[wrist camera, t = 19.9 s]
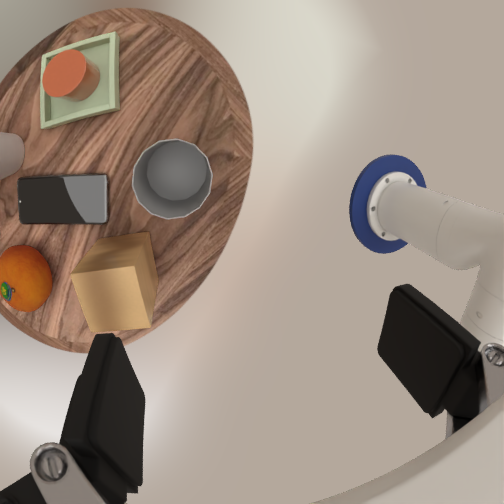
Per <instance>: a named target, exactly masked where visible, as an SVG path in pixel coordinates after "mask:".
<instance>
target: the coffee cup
mask: <svg viewBox="0 0 504 504" xmlns="http://www.w3.org/2000/svg"><path fill="white" fill-rule="evenodd" d="M24 155H25V148H24V143H23V141H22V139H21V138H20V137H19V136H18V135H16V134H12V133H3V132H0V180H1V179H3V178H5V177H7V176H10V175H12V174H14V173H16V172H17V171H18V170H19V168H20V167H21V165H22V163H23V160H24Z"/></svg>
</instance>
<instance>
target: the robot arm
mask: <svg viewBox="0 0 504 504" xmlns="http://www.w3.org/2000/svg"><path fill="white" fill-rule="evenodd" d="M367 218H368V223H369V225H370V227H371V229H372V230H373V232H374V233H375V234H376V235H377V236H379V237H380V238H382V239H385V240H389V241H393V240H397V239H402V240H404V241H405V242H407V243H409V244H411V245H413V246H414V247H416V248H418V249H419V250H421V251H423V252H425V253H426V254H428V255H429V256H431V257H433V258H435V259H436V260H438V261H440V262H441V263H443V264H445V265H446V266H448V267H450V268H452V269H456V270H467V269H470V268H473V267H476V266H479V265H480V270H479V273H478V276H477V280H476V283H475V286H474V289H473V291H472V294H471V297H470V299H469V301H468V304H467V306H466V309H465V311H464V314H463V317H462V319H461V322H460V324H459V323H458V322H457V321H456V320H454V319H453V318H452V317H451V316H450V315H448V314H447V313H446V312H444V311H443V310H442V309H441V308H440V307H438V306H437V305H436V304H435V303H433V302H432V301H431V300H430V299H428V298H427V297H426V296H424V295H423V294H422V293H421V292H419V291H418V290H417V289H415V288H414V287H413V286H411V285H410V284H404V285H400V286H397V287H395V288H394V289H393V291H392V292H391V294H390V297H389V301H388V306H387V311H386V315H385V319H384V324H383V328H382V332H381V336H380V339H379V343H378V348H377V349H378V354H379V355H380V357H381V358H382V359H383V361H384V362H385V363H386V364H387V365H388V367H389V368H390V369H391V370H392V372H393V373H394V374H395V375H396V377H397V378H398V379H399V380H400V381H401V383H402V384H403V385H404V387H405V388H406V389H407V390H408V392H409V393H410V394H411V395H412V397H413V398H414V399H415V400H416V402H417V403H418V404H419V406H420V407H421V408H422V410H423V411H424V412H425V413H429V415H430V416H431V417H432V418H434V417H435V416H437V415H438V414H440V413H442V412H443V410H444V409H446V410H447V427H446V439H445V440H444V441H442V442H441V443H439V444H438V445H436V446H435V447H433V448H432V449H430V450H428V451H427V452H425V453H423V454H422V455H420V456H418V457H417V458H415V459H413V460H411V461H410V462H408V463H406V464H404V465H402V466H401V467H399V468H397V469H395V470H393V471H391V472H389V473H387V474H385V475H383V476H381V477H379V478H376V479H374V480H372V481H370V482H368V483H365V484H363V485H361V486H358V487H356V488H354V489H351V490H348V491H346V492H343V493H341V494H338V495H335V496H333V497H329V498H327V499H323V500H320V501H318V502H314V503H311V504H504V214H502V213H499V212H495V211H492V210H488V209H485V208H483V207H480V206H477V205H474V204H471V203H468V202H466V201H463V200H460V199H457V198H454V197H451V196H448V195H445V194H442V193H439V192H436V191H433V190H429V189H427V188H423V187H420V186H417V184H416V182H415V181H414V180H413V178H412V177H410V176H409V175H408V174H405V173H402V172H389V173H387V174H385V175H383V176H382V177H381V178H380V179H379V180H378V181H377V182H376V183H375V185H374V186H373V188H372V190H371V192H370V195H369V198H368V202H367ZM144 414H145V395H144V392H143V390H142V388H141V385H140V383H139V381H138V379H137V377H136V375H135V372H134V370H133V368H132V365H131V363H130V361H129V358H128V356H127V354H126V351H125V348H124V346H123V343H122V341H121V339H120V338H119V337H115V335H114V334H113V333H106V334H96V335H95V337H94V340H93V342H92V345H91V348H90V351H89V353H88V356H87V359H86V362H85V365H84V368H83V371H82V374H81V375H80V376H79V377H78V379H77V381H76V385H75V388H74V391H73V394H72V398H71V401H70V404H69V408H68V412H67V415H66V419H65V423H64V427H63V431H62V434H61V439H60V443H59V444H57V443H45V444H43V445H40V446H39V447H38V448H37V449H36V450H35V451H34V452H33V454H32V456H31V459H30V469H31V472H30V473H29V474H27V475H26V476H24V477H23V478H21V479H20V480H18V481H16V482H15V483H13V484H12V485H10V486H8V487H7V488H5V489H3V490H2V491H0V504H127V503H126V501H127V493H138V486H141V485H142V483H143V477H142V476H143V432H144Z"/></svg>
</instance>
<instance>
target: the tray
mask: <svg viewBox="0 0 504 504" xmlns="http://www.w3.org/2000/svg"><path fill="white" fill-rule="evenodd" d="M119 40H120V37H119V36H118V35H117V33H116V32H111V33H107V34H104V35H100V36H96V37H93V38H89V39H86V40H83V41H80V42H76V43H73V44H71V45H68V46H65V47H62V48H59V49H57V50H54V51H52V52H49V53H47V54H44V55H42V64H41V82H40V118H41V129H51V128H54V127H57V126H60V125H64V124H67V123H70V122H74V121H77V120H81V119H85V118H88V117H92V116H96V115H100V114H105V113H109V112H114V111H118V110H120V101H119ZM70 49H74V50H78V51H80V52H81V53H82V54H84V55H85V56H86V57H88V58H89V59H90V60H92V61H93V62H94V63H95V64H96V65H97V66H98V68H99V70H100V81H99V84H98V86H97V88H96V89H95V91H94V92H93V93H92V94H91V95H90V96H89V97H88V98H86V99H85V100H83V101H80V102H69V101H66V100H62V99H59V98H55V97H52V96H49V95H48V94H47V93H46V92H45V91H44V89H43V85H42V77H43V73H44V70H45V68H46V66H47V65H48V63H49V62H50V61H51V60H52V59H53V57H55V56H56V55H57V54H59V53H60V52H63V51H65V50H70Z"/></svg>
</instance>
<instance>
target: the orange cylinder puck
mask: <svg viewBox="0 0 504 504" xmlns="http://www.w3.org/2000/svg"><path fill="white" fill-rule="evenodd" d="M99 81H100V70H99V68H98V66H97V65H96V64H95V63H94V62H93V61H92V60H90V59H89V58H88V57H86V56H85V55H84V54H82V53H81V52H80V51H78V50H74V49H70V50H65V51H63V52H60V53H59V54H57V55H56V56H55V57H53V59H52V60H51V61H50V62H49V63H48V65H47V66H46V68H45V70H44V73H43V77H42V85H43V89H44V91H45V92H46V93H47V94H48V95H49V96H52V97H55V98H59V99H62V100H66V101H69V102H80V101H83V100H85V99H86V98H88V97H89V96H90V95H91V94H92V93H93V92H94V91H95V89H96V88H97V86H98V84H99Z"/></svg>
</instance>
